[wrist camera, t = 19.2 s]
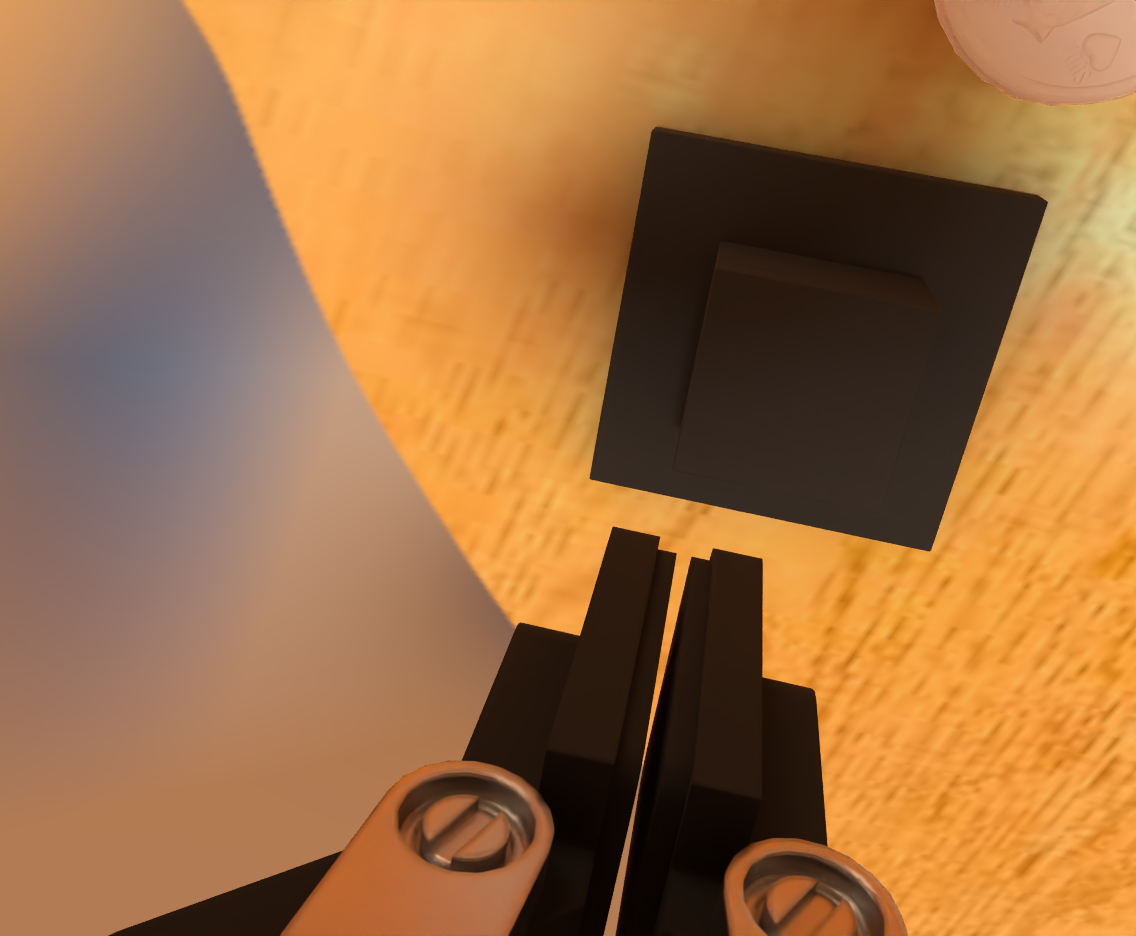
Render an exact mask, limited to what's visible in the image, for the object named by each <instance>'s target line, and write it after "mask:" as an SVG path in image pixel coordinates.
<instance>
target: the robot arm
mask: <svg viewBox="0 0 1136 936" xmlns="http://www.w3.org/2000/svg"><path fill="white" fill-rule="evenodd" d="M659 540H660V537H659V536H654V535H650V534H645V533H640V532H636V531H631V530H627V529H622V528H617V527H613V528H612V531H611V534H610V537H609V541H608V544H607V547H606V551H605V554H604V558H603V561H602V564H601V568H600V571H599V574H598V578H597V581H596V584H595V588H594V591H593V594H592V598H591V601H590V604H589V608H588V611H587V614H586V618H585V621H584V624H583V628H582V631H581V635H580V636H578V635H574V634H569V633H565V632H560V631H556V630H552V629H547V628H543V627H538V626H534V625H529V624H525V623H519V624H518V625H517V627H516V629H515V632H514V634H513V636H512V639H511V641H510V644H509V646H508V649H507V651H506V654H505V656H504V658H503V662H502V663H501V666H500V668H499V671H498V673H497V676H496V678H495V681H494V683H493V685H492V688H491V690H490V693H489V695H488V698H487V700H486V703H485V705H484V707H483V710H482V713H481V715H480V717H479V720H478V722H477V725H476V727H475V729H474V732H473V735H472V737H471V739H470V742H469V744H468V747H467V749H466V751H465V754H464V757H463V759H462V761H445V762H440V763H435V764H430V765H425V766H423V767H421V768H419V769H417V770H415V771H413V772H411V773H408V774H407V775H404V776H403V777H402V778H401V779H400V780H399V781H398V782H397V783H395V785H393V786H392V787H391V788H390V789H389V790H388V791H387V793H386V794H385V795H384V797H383V798H382V799H381V801H380V802H379V803H378V805H377V806H376V807H375V809H374V810H373V811H372V813H371V814H370V815H369V817H368V818H367V819H366V821H365V822H364V823H363V825H362V826H361V827H360V829H359V830H358V831H357V833H356V834H355V835H354V837H353V838H352V839H351V841H350V842H349V844H348V845H347V846H346V847H345V849H344V850H343V851H340V852H338V853H335V854H332V855H329V856H326V857H324V858H321V859H318V860H315V861H313V862H310V863H307V864H304V865H301V866H299V867H296V868H294V869H291V870H288V871H285V872H282V873H279V874H277V875H273V876H271V877H268V878H265V879H262V880H260V881H257V882H254V883H251V884H248V885H246V886H243V887H240V888H237V889H235V890H232V891H229V892H226V893H223V894H220V895H218V896H215V897H212V898H210V899H207V900H204V901H201V902H198V903H196V904H193V905H190V906H187V907H184V908H182V909H179V910H176V911H173V912H170V913H167V914H165V915H162V916H159V917H156V918H154V919H151V920H148V921H145V922H143V923H140V924H137V925H134V926H131V927H128V928H126V929H123V930H120V931H118V932H115V933H113V934H111V935H109V936H603V935H604V931H605V926H606V922H607V917H608V913H609V908H610V905H611V900H612V896H613V892H614V887H615V882H616V878H617V874H618V870H619V865H620V861H621V857H622V852H623V848H624V844H625V839H626V835H627V831H628V826H629V822H630V818H631V813H632V809H633V805H634V800H635V796H636V790H637V785H638V781H639V776H640V771H641V766H642V761H643V755H644V750H645V744H646V738H647V731H648V725H649V719H650V713H651V707H652V701H653V695H654V689H655V683H656V676H657V670H658V664H659V658H660V652H661V646H662V640H663V634H664V628H665V622H666V615H667V609H668V603H669V597H670V591H671V585H672V579H673V573H674V567H675V560H676V554H677V553H672V552H668V551H663V550H659V549H658V545H659ZM762 598H763V562H762V559H760V558H756V557H751V556H747V555H742V554H737V553H733V552H728V551H724V550H719V549H714V548H713V550H712V553H711V557H710V561H709V560H705V559H700V558H695V557H692V558H691V561H690V565H689V569H688V574H687V578H686V582H685V587H684V591H683V595H682V600H681V604H680V608H679V613H678V617H677V621H676V626H675V630H674V634H673V639H672V643H671V647H670V652H669V656H668V660H667V665H666V669H665V673H664V678H663V682H662V686H661V691H660V695H659V699H658V704H657V708H656V712H655V717H654V721H653V725H652V730H651V734H650V738H649V743H648V747H647V752H646V756H645V761H644V766H643V771H642V777H641V782H640V788H639V794H638V801H637V806H636V813H635V819H634V825H633V832H632V838H631V843H630V850H629V856H628V862H627V868H626V875H625V880H624V887H623V893H622V899H621V906H620V912H619V917H618V924H617V930H616V936H908V933H907V930H906V927H905V924H904V921H903V918H902V915H901V914H900V912H899V910H898V908H897V906H896V904H895V902H894V900H893V898H892V896H891V894H890V893H889V892H888V891H887V890H886V889H885V887H884V886H883V885H882V884H881V883H880V882H879V881H878V880H877V878H876V877H875V876H874V875H873V874H872V873H871V872H869V871H868V870H866V869H865V868H864V867H862V866H861V865H860V864H858V863H857V862H856V861H854V860H853V859H851V858H850V857H848V856H846V855H844V854H842V853H840V852H838V851H836V850H833V849H831V848H829V847H828V846H827V833H826V820H825V807H824V794H823V781H822V768H821V755H820V742H819V729H818V716H817V703H816V696H815V691H814V690H813V689H811V688H807V687H803V686H798V685H794V684H789V683H785V682H781V681H776V680H772V679H767V678H763V677H762Z"/></svg>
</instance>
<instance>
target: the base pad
mask: <svg viewBox="0 0 1136 936" xmlns="http://www.w3.org/2000/svg"><path fill="white" fill-rule="evenodd" d="M1047 204H1048V201H1046V200H1044V199H1043V198H1041V197H1040V196H1038V195H1034V194H1028V193H1022V192H1017V191H1011V190H1006V189H1000V188H995V187H989V186H984V185H978V184H972V183H967V182H961V181H956V180H950V179H945V178H939V177H934V176H928V175H922V174H917V173H911V172H906V171H900V170H895V169H889V168H884V167H878V166H872V165H867V164H861V163H856V162H850V161H845V160H839V159H833V158H828V157H822V156H817V155H811V154H806V153H800V152H795V151H789V150H783V149H778V148H772V147H767V146H761V145H756V144H750V143H745V142H739V141H733V140H728V139H722V138H717V137H711V136H706V135H700V134H695V133H689V132H683V131H678V130H672V129H667V128H661V127H655V128H654V129H653V130H652V132H651V138H650V143H649V149H648V154H647V160H646V166H645V171H644V177H643V182H642V188H641V194H640V199H639V205H638V210H637V216H636V222H635V227H634V233H633V238H632V244H631V250H630V255H629V261H628V266H627V272H626V278H625V283H624V289H623V294H622V300H621V305H620V311H619V317H618V322H617V328H616V333H615V339H614V345H613V350H612V356H611V361H610V367H609V373H608V378H607V384H606V389H605V395H604V401H603V406H602V412H601V417H600V423H599V429H598V434H597V440H596V445H595V451H594V456H593V462H592V468H591V473H590V479H591V480H596V481H601V482H605V483H610V484H615V485H619V486H624V487H629V488H633V489H638V490H643V491H648V492H652V493H657V494H662V495H666V496H671V497H676V498H680V499H685V500H690V501H695V502H699V503H704V504H709V505H713V506H718V507H723V508H727V509H732V510H737V511H742V512H746V513H751V514H756V515H760V516H765V517H770V518H775V519H779V520H784V521H789V522H793V523H798V524H803V525H807V526H812V527H817V528H822V529H826V530H831V531H836V532H840V533H845V534H850V535H854V536H859V537H864V538H869V539H873V540H878V541H883V542H887V543H892V544H897V545H901V546H906V547H911V548H916V549H920V550H925V551H931V549H932V546H933V543H934V540H935V537H936V534H937V531H938V528H939V525H940V522H941V519H942V516H943V513H944V510H945V507H946V504H947V501H948V498H949V495H950V492H951V489H952V486H953V483H954V480H955V477H956V474H957V471H958V468H959V465H960V462H961V459H962V456H963V454H964V451H965V448H966V445H967V442H968V439H969V436H970V433H971V430H972V427H973V424H974V421H975V418H976V415H977V412H978V409H979V406H980V403H981V400H982V397H983V394H984V391H985V388H986V385H987V382H988V379H989V376H990V373H991V370H992V367H993V364H994V361H995V358H996V355H997V352H998V349H999V346H1000V343H1001V340H1002V338H1003V335H1004V332H1005V329H1006V326H1007V323H1008V320H1009V317H1010V314H1011V311H1012V308H1013V305H1014V302H1015V299H1016V296H1017V293H1018V290H1019V287H1020V284H1021V281H1022V278H1023V275H1024V272H1025V269H1026V266H1027V263H1028V260H1029V257H1030V254H1031V251H1032V248H1033V245H1034V242H1035V239H1036V236H1037V233H1038V230H1039V227H1040V224H1041V222H1042V219H1043V216H1044V213H1045V210H1046V207H1047ZM721 241H725V242H730V243H736V244H741V245H746V246H752V247H757V248H762V249H767V250H773V251H778V252H783V253H789V254H794V255H799V256H805V257H810V258H815V259H820V260H826V261H831V262H836V263H842V264H847V265H852V266H857V267H863V268H868V269H873V270H879V271H884V272H889V273H894V274H900V275H905V276H910V277H916V278H921V279H923V280H924V281H925V283H926V284H927V286H928V288H929V289H930V291H931V292H932V294H933V296H934V297H935V299H936V301H937V303H938V304H939V306H940V308H941V309H942V311H943V313H942V317H941V320H940V323H939V326H938V330H937V333H936V336H935V339H934V343H933V346H932V349H931V352H930V356H929V359H928V362H927V365H926V369H925V372H924V375H923V378H922V381H921V385H920V388H919V391H918V394H917V398H916V401H915V404H914V407H913V411H912V414H911V417H910V420H909V424H908V427H907V430H906V433H905V437H904V440H903V443H902V446H901V450H900V453H899V456H898V459H897V462H896V466H895V469H894V472H893V475H892V479H891V482H890V485H889V488H888V492H887V495H886V498H885V501H884V505H883V508H882V511H881V513H880V514H877V513H873V512H868V511H863V510H858V509H854V508H849V507H844V506H839V505H835V504H830V503H825V502H820V501H816V500H811V499H806V498H801V497H797V496H792V495H787V494H782V493H778V492H773V491H768V490H763V489H759V488H754V487H749V486H744V485H740V484H735V483H730V482H725V481H721V480H716V479H711V478H706V477H702V476H697V475H692V474H687V473H682V472H678V471H674V470H673V469H672V467H673V462H674V457H675V452H676V447H677V442H678V438H679V433H680V428H681V423H682V418H683V414H684V409H685V404H686V400H687V395H688V390H689V385H690V381H691V376H692V371H693V367H694V362H695V357H696V353H697V348H698V343H699V339H700V334H701V329H702V325H703V320H704V315H705V310H706V306H707V301H708V296H709V292H710V287H711V282H712V278H713V273H714V268H715V264H716V259H717V254H718V250H719V245H720V242H721Z"/></svg>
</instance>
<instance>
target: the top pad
mask: <svg viewBox="0 0 1136 936" xmlns="http://www.w3.org/2000/svg"><path fill="white" fill-rule="evenodd" d="M942 313H943V311H942V309H941V308H940V306H939V304H938V303H937V301H936V299H935V297H934V296H933V294H932V292H931V291H930V289H929V288H928V286H927V284H926V283H925V281H924V280H923V279H921V278H916V277H910V276H905V275H900V274H894V273H889V272H884V271H879V270H873V269H868V268H863V267H857V266H852V265H847V264H842V263H836V262H831V261H826V260H820V259H815V258H810V257H805V256H799V255H794V254H789V253H783V252H778V251H773V250H767V249H762V248H757V247H752V246H746V245H741V244H736V243H730V242H725V241H721V242H720V245H719V250H718V254H717V259H716V264H715V268H714V273H713V278H712V282H711V287H710V292H709V296H708V301H707V306H706V310H705V315H704V320H703V325H702V329H701V334H700V339H699V343H698V348H697V353H696V357H695V362H694V367H693V371H692V376H691V381H690V385H689V390H688V395H687V400H686V404H685V409H684V414H683V418H682V423H681V428H680V433H679V438H678V442H677V447H676V452H675V457H674V462H673V467H672V469H673V470H674V471H678V472H682V473H687V474H692V475H697V476H702V477H706V478H711V479H716V480H721V481H725V482H730V483H735V484H740V485H744V486H749V487H754V488H759V489H763V490H768V491H773V492H778V493H782V494H787V495H792V496H797V497H801V498H806V499H811V500H816V501H820V502H825V503H830V504H835V505H839V506H844V507H849V508H854V509H858V510H863V511H868V512H873V513H877V514H880V513H881V511H882V508H883V505H884V501H885V498H886V495H887V492H888V488H889V485H890V482H891V479H892V475H893V472H894V469H895V466H896V462H897V459H898V456H899V453H900V450H901V446H902V443H903V440H904V437H905V433H906V430H907V427H908V424H909V420H910V417H911V414H912V411H913V407H914V404H915V401H916V398H917V394H918V391H919V388H920V385H921V381H922V378H923V375H924V372H925V369H926V365H927V362H928V359H929V356H930V352H931V349H932V346H933V343H934V339H935V336H936V333H937V330H938V326H939V323H940V320H941V317H942Z"/></svg>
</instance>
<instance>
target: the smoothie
mask: <svg viewBox="0 0 1136 936" xmlns="http://www.w3.org/2000/svg"><path fill="white" fill-rule="evenodd" d="M934 3H935V8H936V13H937V18H938V20H939V22H940V24H941V26H942V28H943V30H944V32H945V34H946V36H947V38H948V40H949V42H950V44H951V46H952V48H953V49H954V51H955V53H956V54H957V55H958V56H959V57H960V58H961V59H962V60H963V61H964V62H965V63H966V64H967V65H968V67H969V68H970V69H971V70H972V71H973V72H974V73H975V74H976V75H977V76H978V77H979V78H980V79H981V80H983V81H985V82H987V83H988V84H990V85H992V86H994V87H996V88H997V89H999V90H1001V91H1003V92H1005V93H1007V94H1008V95H1010V96H1012V97H1014V98H1019V99H1023V100H1028V101H1033V102H1037V103H1042V104H1046V105H1077V104H1092V103H1099V102H1105V101H1109V100H1114V99H1118V98H1121V97H1124V96H1127V95H1130V94H1133V93H1136V0H934Z"/></svg>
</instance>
